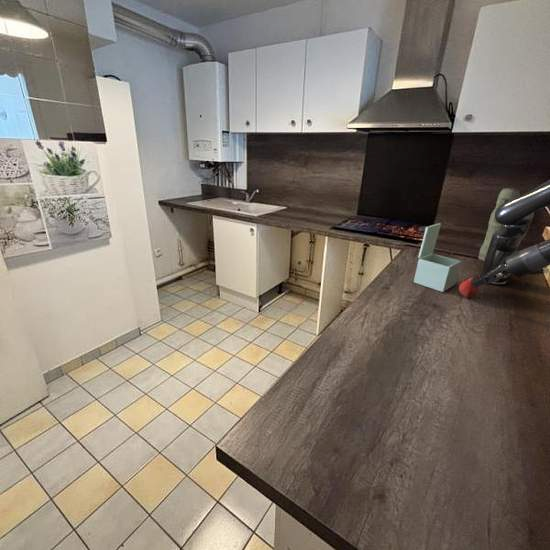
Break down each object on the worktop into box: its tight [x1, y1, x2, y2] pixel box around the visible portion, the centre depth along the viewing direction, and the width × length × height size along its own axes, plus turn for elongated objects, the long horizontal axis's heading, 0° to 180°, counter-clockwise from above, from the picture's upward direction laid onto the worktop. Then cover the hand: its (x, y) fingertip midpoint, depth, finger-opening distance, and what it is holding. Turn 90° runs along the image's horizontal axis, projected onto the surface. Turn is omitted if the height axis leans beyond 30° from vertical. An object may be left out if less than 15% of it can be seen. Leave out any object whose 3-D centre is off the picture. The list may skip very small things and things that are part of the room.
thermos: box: [477, 187, 520, 262], centre depth 141 cm, size 9×12×35 cm
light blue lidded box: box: [413, 252, 462, 293], centre depth 117 cm, size 12×12×10 cm
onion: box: [458, 277, 479, 299], centre depth 106 cm, size 6×6×8 cm
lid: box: [417, 222, 442, 259], centre depth 118 cm, size 12×12×5 cm
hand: (476, 281), depth 104 cm, fingers open, 8 cm apart
